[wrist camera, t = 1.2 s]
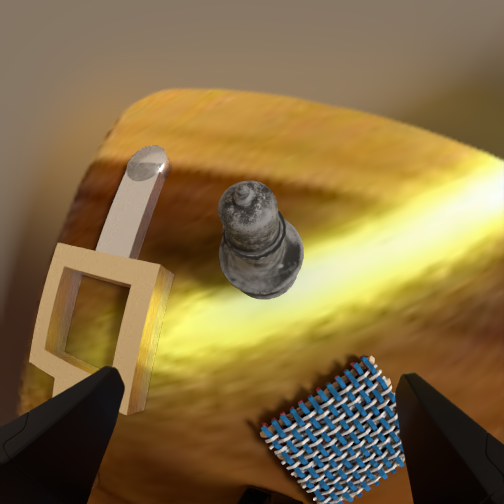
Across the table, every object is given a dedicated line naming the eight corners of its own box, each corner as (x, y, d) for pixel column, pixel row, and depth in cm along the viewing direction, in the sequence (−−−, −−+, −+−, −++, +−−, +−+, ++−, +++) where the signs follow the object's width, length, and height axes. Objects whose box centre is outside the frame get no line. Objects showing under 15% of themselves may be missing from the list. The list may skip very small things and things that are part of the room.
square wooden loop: (130, 512, 17) (115, 524, 14) (42, 458, 19) (24, 462, 17) (174, 274, 24) (160, 264, 22) (75, 252, 27) (57, 242, 24)
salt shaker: (219, 247, 25) (164, 163, 13) (285, 222, 25) (278, 121, 13) (242, 314, 23) (195, 274, 11) (313, 286, 23) (335, 220, 11)
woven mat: (326, 510, 16) (328, 521, 15) (255, 425, 20) (252, 432, 18) (428, 438, 17) (438, 444, 15) (365, 348, 21) (372, 348, 19)
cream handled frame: (144, 409, 21) (136, 412, 19) (49, 363, 23) (39, 362, 22) (211, 155, 28) (207, 146, 27) (115, 153, 30) (109, 146, 29)
